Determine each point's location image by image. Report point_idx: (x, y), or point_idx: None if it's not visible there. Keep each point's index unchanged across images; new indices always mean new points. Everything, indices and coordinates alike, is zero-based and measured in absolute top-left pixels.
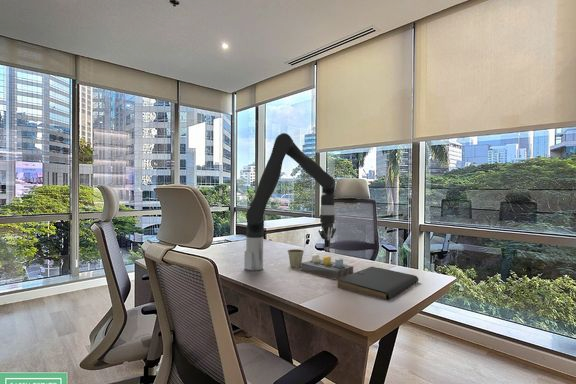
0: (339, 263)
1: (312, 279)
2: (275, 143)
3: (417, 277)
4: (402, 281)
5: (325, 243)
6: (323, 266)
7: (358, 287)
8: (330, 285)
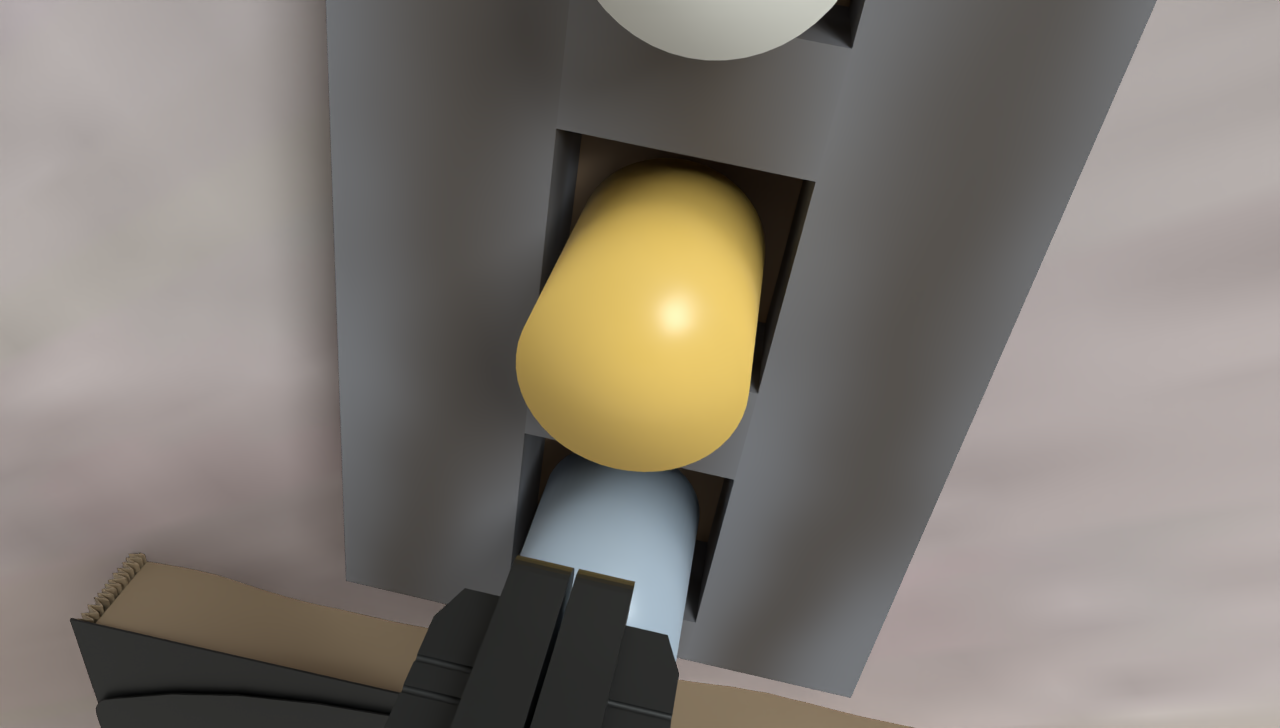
0: None
1: (92, 163)
2: None
3: None
4: None
5: (407, 709)
6: (447, 269)
7: None
8: (110, 477)
